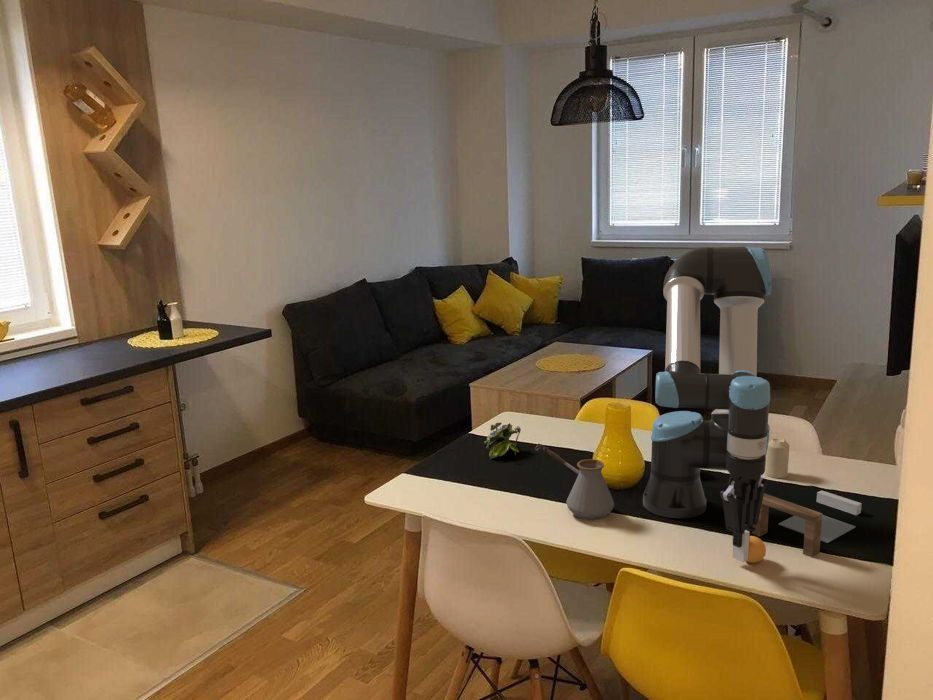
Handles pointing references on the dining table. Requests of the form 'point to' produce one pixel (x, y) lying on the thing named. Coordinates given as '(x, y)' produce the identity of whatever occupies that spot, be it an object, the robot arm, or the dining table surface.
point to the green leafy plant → (501, 440)
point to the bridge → (811, 517)
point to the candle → (777, 458)
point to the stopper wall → (839, 502)
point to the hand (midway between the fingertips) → (740, 558)
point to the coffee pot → (587, 489)
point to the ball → (756, 550)
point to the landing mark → (828, 530)
